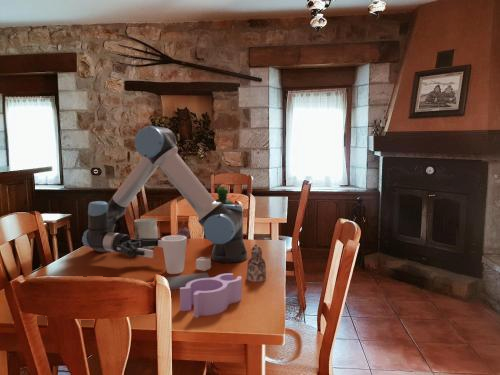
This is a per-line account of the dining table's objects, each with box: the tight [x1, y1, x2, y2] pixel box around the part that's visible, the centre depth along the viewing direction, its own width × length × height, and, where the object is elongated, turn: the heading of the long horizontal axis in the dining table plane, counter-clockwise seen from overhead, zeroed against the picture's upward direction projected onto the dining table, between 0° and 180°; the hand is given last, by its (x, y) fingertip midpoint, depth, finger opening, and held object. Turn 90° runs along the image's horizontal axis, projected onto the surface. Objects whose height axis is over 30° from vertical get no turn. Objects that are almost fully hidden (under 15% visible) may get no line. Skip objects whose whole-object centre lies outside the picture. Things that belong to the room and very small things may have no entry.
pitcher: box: [133, 217, 159, 250], centre depth 189 cm, size 11×18×14 cm, turn 33°
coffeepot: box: [92, 218, 123, 253], centre depth 182 cm, size 15×9×18 cm, turn 69°
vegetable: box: [177, 221, 191, 239], centre depth 201 cm, size 6×6×10 cm
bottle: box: [214, 185, 234, 205], centre depth 196 cm, size 11×11×28 cm
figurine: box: [246, 244, 267, 283], centre depth 146 cm, size 7×7×12 cm
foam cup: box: [161, 234, 188, 275], centre depth 154 cm, size 10×9×13 cm
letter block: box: [195, 256, 212, 272], centre depth 158 cm, size 4×4×4 cm
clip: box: [179, 272, 243, 319], centre depth 124 cm, size 20×12×7 cm, turn 136°
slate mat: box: [165, 272, 212, 291], centre depth 143 cm, size 16×10×1 cm, turn 111°
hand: (162, 249), depth 155 cm, fingers open, 13 cm apart
